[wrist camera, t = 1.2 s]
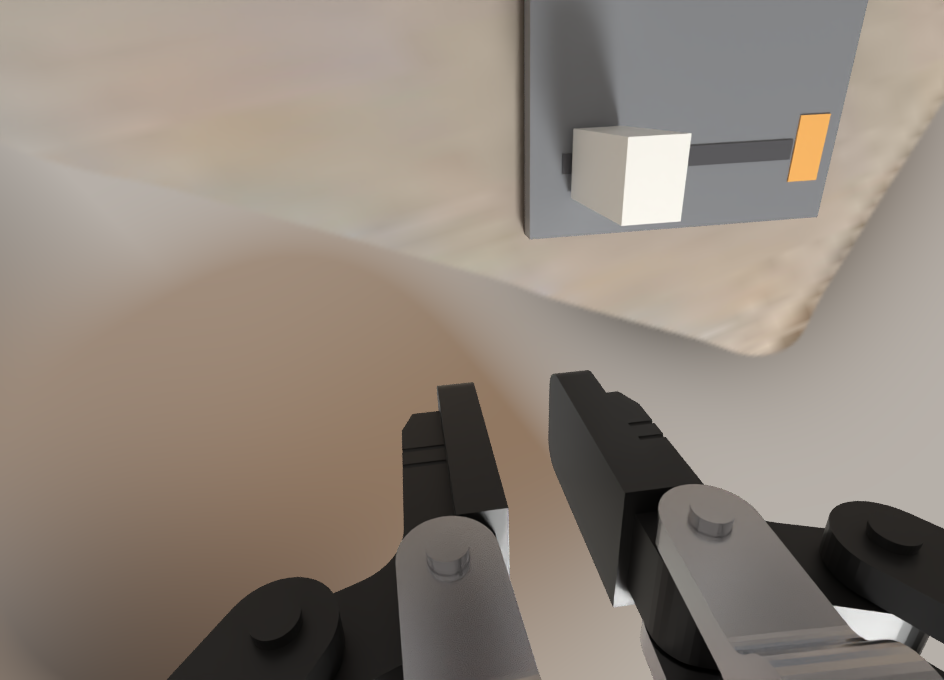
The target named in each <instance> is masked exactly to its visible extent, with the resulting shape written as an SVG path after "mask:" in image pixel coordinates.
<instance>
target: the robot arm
mask: <svg viewBox="0 0 944 680" xmlns="http://www.w3.org/2000/svg"><path fill="white" fill-rule="evenodd" d="M437 396H438V408H439V411H436V412H427V413H417V414H412V416H411V417H410V419H409V421H408V422H407V424H406V425H405V427H404V428H403V430H402V450H403V453H402V455H403V507H404V534H403V539H402V542H401V543H400V545H399V548H398V550H397V553H396V554H395V556H394V557H393V558H392V559H391V561H390V562H389V563H388V564H387V565H386V566H385V567H383V568H382V569H381V570H380V571H378V572H377V573H375V574H374V575H373V576H371V577H369V578H367V579H365V580H363V581H361V582H359V583H356V584H354V585H352V586H350V587H347V588H345V589H343V590H340V591H338V592H336V593H332V591H331V590H330V589H329V588H328V587H327V586H325V585H324V584H323V583H321V582H319V581H317V580H314V579H309V578H303V577H294V578H286V579H280V580H277V581H274V582H271V583H269V584H266V585H264V586H262V587H260V588H258V589H257V590H255V591H253V592H252V593H250V594H249V595H247V596H246V597H245V598H244V599H242V600H241V601H240V602H239V603H238V604H237V605H236V606H235V607H234V608H233V609H232V610H231V611H230V612H229V613H228V614H227V615H226V616H225V617H224V618H223V619H222V621H221V622H220V623H219V624H218V625H217V626H216V627H215V628H214V629H213V630H212V631H211V632H210V634H209V635H208V636H207V637H206V638H205V639H204V640H203V641H202V642H201V643H200V644H199V646H198V647H197V648H196V649H195V650H194V651H193V652H192V653H191V654H190V655H189V656H188V657H187V658H186V659H185V661H184V662H183V663H182V664H181V665H180V666H179V667H178V668H177V669H176V670H175V671H174V672H173V674H172V675H171V676H170V677H169V678H168V679H167V680H541V677H540V675H539V672H538V669H537V666H536V662H535V659H534V656H533V653H532V649H531V646H530V643H529V640H528V637H527V633H526V630H525V627H524V624H523V620H522V617H521V614H520V611H519V607H518V604H517V601H516V598H515V594H514V591H513V588H512V585H511V581H510V566H509V515H508V505H507V501H506V498H505V495H504V490H503V487H502V483H501V480H500V476H499V473H498V469H497V465H496V462H495V458H494V455H493V451H492V447H491V444H490V440H489V437H488V433H487V429H486V426H485V422H484V418H483V415H482V411H481V407H480V404H479V400H478V397H477V393H476V390H475V386H474V383H473V382H471V383H462V384H452V385H442V386H437ZM549 451H550V457H551V461H552V465H553V468H554V471H555V473H556V475H557V478H558V480H559V482H560V484H561V487H562V489H563V492H564V494H565V496H566V499H567V501H568V503H569V505H570V508H571V510H572V513H573V515H574V517H575V519H576V522H577V524H578V527H579V529H580V531H581V533H582V536H583V538H584V540H585V543H586V545H587V547H588V550H589V552H590V554H591V557H592V559H593V561H594V564H595V566H596V568H597V570H598V573H599V575H600V578H601V580H602V582H603V585H604V587H605V589H606V592H607V594H608V596H609V599H610V601H611V603H612V606H613V607H619V606H625V605H632V604H635V605H636V607H637V609H638V611H639V613H640V615H641V617H642V619H643V620H642V627H641V637H640V638H641V646H642V649H643V653H644V655H645V658H646V661H647V663H648V666H649V668H650V671H651V673H652V676H653V679H654V680H944V672H943V671H942V670H940V669H938V668H937V667H935V666H934V665H932V664H930V663H929V662H927V661H926V660H925V659H924V658H922V657H921V656H920V654H921V652H922V650H923V648H924V646H925V644H926V642H927V640H928V638H929V636H931V637H933V638H935V639H936V640H938V641H940V642H942V643H943V644H944V529H943V528H941V527H939V526H936V525H934V524H932V523H930V522H927V521H925V520H923V519H921V518H918V517H916V516H914V515H912V514H910V513H907V512H905V511H902V510H900V509H897V508H894V507H891V506H888V505H883V504H879V503H874V502H866V501H853V502H847V503H842V504H840V505H838V506H836V507H835V508H834V509H833V510H832V511H831V513H830V515H829V518H828V521H827V524H826V527H825V528H817V527H809V526H799V525H791V524H782V523H774V522H768V521H765V520H764V519H763V518H762V516H761V515H760V514H759V513H758V512H757V511H756V510H755V509H754V507H752V506H751V505H750V504H749V503H748V502H746V501H745V500H743V499H742V498H740V497H739V496H737V495H735V494H733V493H731V492H729V491H726V490H723V489H720V488H717V487H713V486H708V485H704V484H703V483H702V482H701V480H700V479H699V478H698V477H697V475H696V474H695V473H694V472H693V471H692V469H691V468H690V467H689V465H688V464H687V463H686V462H685V461H684V459H683V458H682V457H681V456H680V454H679V453H678V452H677V450H676V449H675V448H674V447H673V446H672V444H671V443H670V442H669V441H668V440H667V438H666V437H663V433H662V432H661V431H660V429H659V428H658V427H657V426H656V424H655V423H652V419H651V418H650V417H649V416H648V415H647V413H646V412H645V411H644V409H643V408H642V407H641V406H640V404H638V403H637V402H635V401H633V400H631V399H630V398H628V397H626V396H625V395H623V394H622V393H620V392H609V393H606V392H605V390H604V389H603V388H602V386H601V385H600V383H599V382H598V381H597V379H596V378H595V377H594V375H593V374H592V373H591V371H589V370H585V371H576V372H566V373H558V374H553V375H552V376H551V378H550V391H549Z"/></svg>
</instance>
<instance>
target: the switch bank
mask: <svg viewBox="0 0 944 680" xmlns="http://www.w3.org/2000/svg"><path fill="white" fill-rule="evenodd" d="M867 3H868V0H524V146H525V235H526V236H527V237H528V238H529V239H541V238H554V237H567V236H579V235H592V234H605V233H618V232H631V231H643V230H656V229H669V228H682V227H695V226H707V225H720V224H733V223H746V222H759V221H771V220H784V219H797V218H810V217H817V216H818V211H819V207H820V203H821V199H822V194H823V190H824V186H825V182H826V177H827V173H828V169H829V165H830V160H831V156H832V152H833V148H834V143H835V139H836V135H837V131H838V126H839V122H840V118H841V114H842V109H843V105H844V101H845V96H846V92H847V88H848V84H849V79H850V75H851V71H852V67H853V62H854V58H855V54H856V50H857V45H858V41H859V37H860V33H861V28H862V24H863V20H864V16H865V11H866V7H867ZM609 126H629V127H638V128H648V129H657V130H666V131H675V132H684V133H692V134H691V142H690V150H689V158H688V166H687V174H686V182H685V190H684V198H683V206H682V214H681V221H680V222H667V223H654V224H640V225H627V226H621V225H619V224H617V223H615V222H613V221H612V220H610V219H608V218H606V217H604V216H603V215H601V214H599V213H597V212H595V211H593V210H592V209H590V208H588V207H586V206H584V205H583V204H581V203H579V202H577V201H575V200H574V199H572V198H571V182H572V154H573V129H574V128H592V127H609Z"/></svg>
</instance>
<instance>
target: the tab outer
mask: <svg viewBox="0 0 944 680" xmlns="http://www.w3.org/2000/svg"><path fill="white" fill-rule="evenodd" d="M691 134H692V133H684V132H675V131H666V130H657V129H648V128H638V127H629V126H609V127H592V128H574V129H573V154H572V182H571V198H572V199H574V200H575V201H577V202H579V203H581V204H583V205H584V206H586V207H588V208H590V209H592V210H593V211H595V212H597V213H599V214H601V215H603V216H604V217H606V218H608V219H610V220H612V221H613V222H615V223H617V224H619V225H621V226H627V225H640V224H654V223H667V222H680V221H681V214H682V206H683V198H684V190H685V182H686V174H687V166H688V158H689V150H690V142H691Z"/></svg>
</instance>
